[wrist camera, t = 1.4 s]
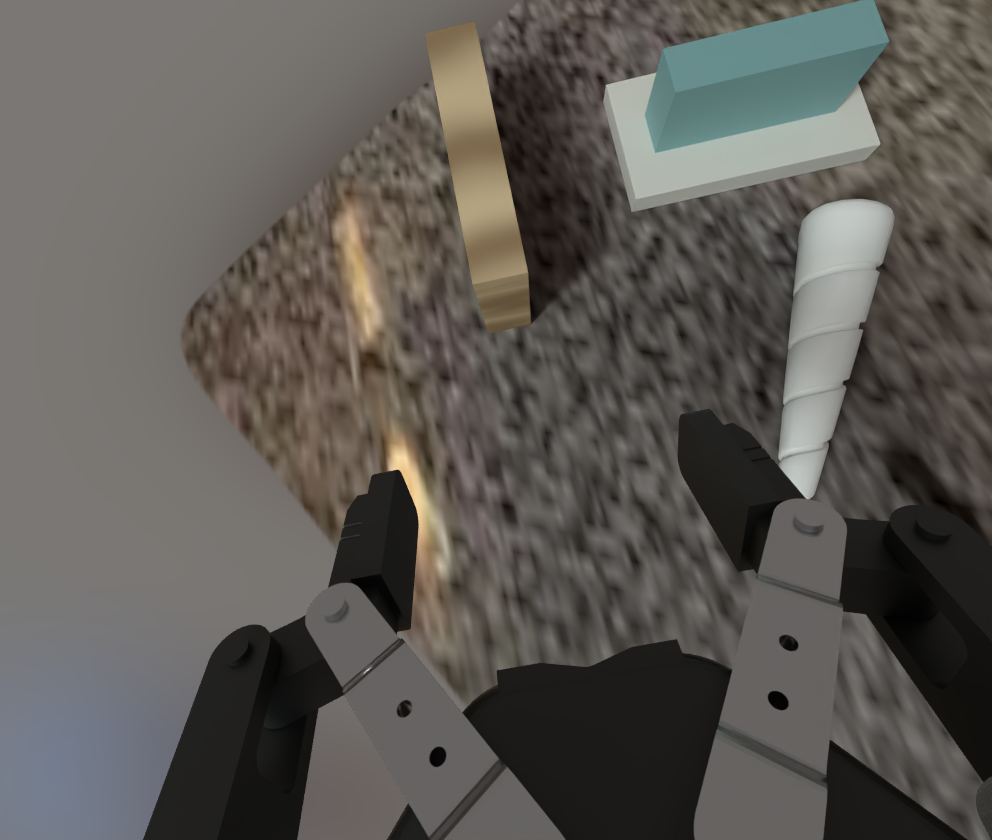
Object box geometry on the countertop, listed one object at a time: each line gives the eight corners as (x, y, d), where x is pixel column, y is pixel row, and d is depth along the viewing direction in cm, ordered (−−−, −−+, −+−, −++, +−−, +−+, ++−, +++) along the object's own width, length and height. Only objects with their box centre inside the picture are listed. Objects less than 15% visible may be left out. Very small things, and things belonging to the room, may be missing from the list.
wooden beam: (450, 134, 36) (424, 33, 28) (489, 125, 36) (474, 21, 28) (488, 333, 33) (472, 284, 26) (531, 324, 33) (528, 272, 25)
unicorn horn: (710, 570, 30) (742, 584, 25) (788, 227, 33) (830, 182, 28) (789, 594, 29) (836, 613, 25) (861, 242, 32) (916, 198, 27)
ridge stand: (825, 49, 34) (891, -54, 28) (865, 160, 33) (944, 78, 26) (603, 101, 35) (617, 14, 29) (631, 212, 34) (653, 145, 27)
